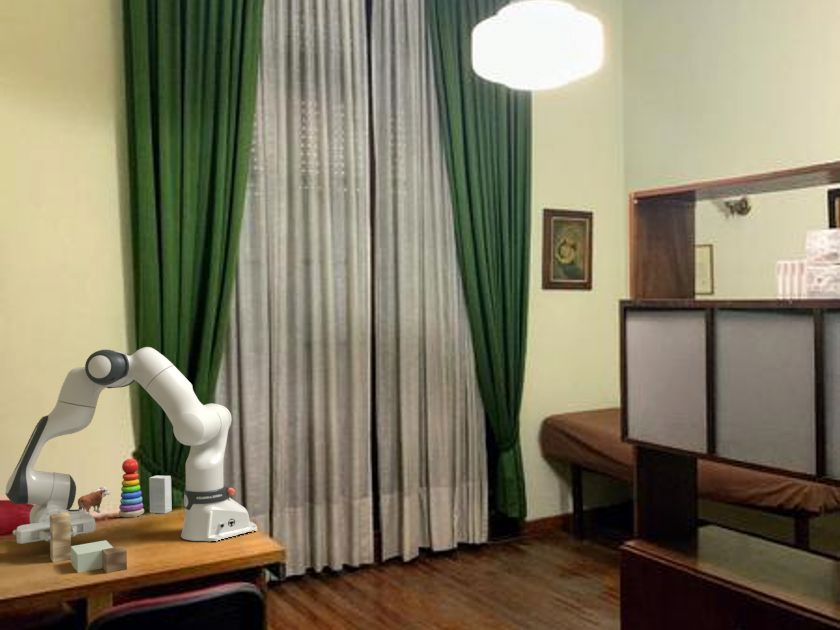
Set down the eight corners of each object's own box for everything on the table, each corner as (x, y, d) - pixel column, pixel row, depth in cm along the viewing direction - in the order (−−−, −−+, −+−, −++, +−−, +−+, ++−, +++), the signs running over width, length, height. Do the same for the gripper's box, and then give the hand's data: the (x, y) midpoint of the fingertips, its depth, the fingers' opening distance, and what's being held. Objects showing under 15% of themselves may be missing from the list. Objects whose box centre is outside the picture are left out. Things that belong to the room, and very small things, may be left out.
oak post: (67, 555, 215) (67, 512, 215) (71, 559, 211) (70, 515, 211) (50, 558, 213) (49, 514, 213) (53, 562, 209) (52, 518, 209)
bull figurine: (112, 509, 266) (112, 485, 266) (83, 519, 253) (83, 494, 253) (102, 508, 267) (101, 484, 267) (73, 518, 254) (72, 493, 254)
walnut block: (122, 564, 206) (121, 546, 206) (126, 569, 202) (126, 550, 202) (102, 568, 204) (102, 549, 204) (106, 573, 199) (106, 554, 199)
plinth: (106, 558, 213) (106, 540, 213) (114, 566, 205) (113, 548, 205) (71, 564, 208) (70, 546, 208) (77, 573, 200) (77, 554, 200)
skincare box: (172, 510, 262) (171, 475, 262) (165, 514, 258) (164, 478, 258) (156, 509, 264) (155, 475, 264) (149, 513, 260) (148, 477, 260)
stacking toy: (148, 512, 261) (147, 456, 261) (137, 518, 253) (136, 461, 253) (126, 511, 262) (125, 456, 262) (114, 518, 254) (113, 461, 254)
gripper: (11, 519, 217) (18, 530, 205) (88, 508, 228) (99, 518, 217) (11, 542, 217) (18, 554, 205) (89, 529, 228) (99, 540, 217)
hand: (60, 535), depth 211 cm, fingers closed on oak post, 4 cm apart
